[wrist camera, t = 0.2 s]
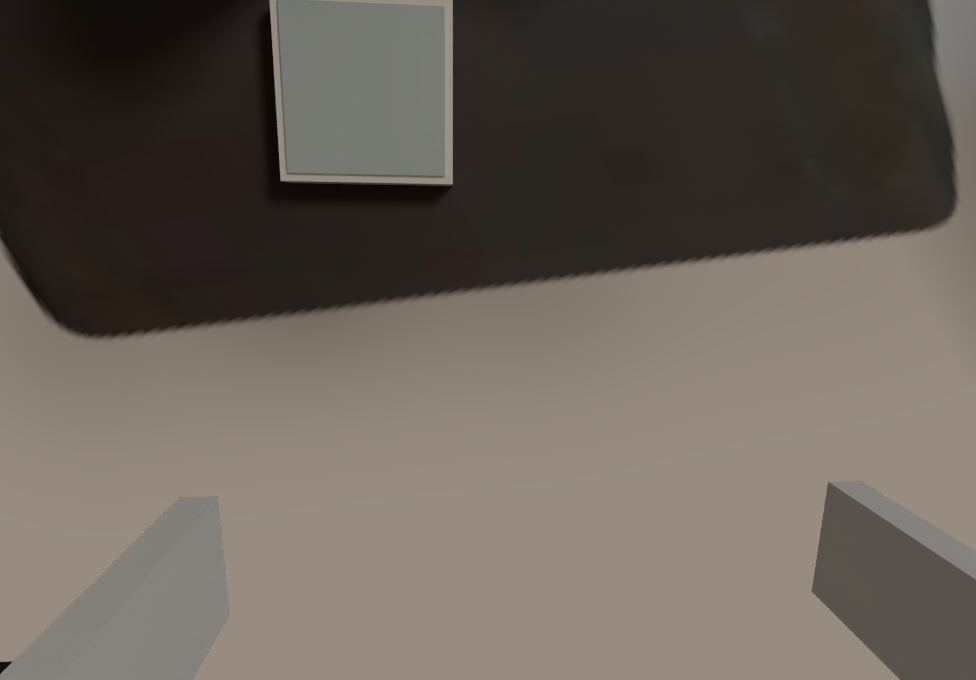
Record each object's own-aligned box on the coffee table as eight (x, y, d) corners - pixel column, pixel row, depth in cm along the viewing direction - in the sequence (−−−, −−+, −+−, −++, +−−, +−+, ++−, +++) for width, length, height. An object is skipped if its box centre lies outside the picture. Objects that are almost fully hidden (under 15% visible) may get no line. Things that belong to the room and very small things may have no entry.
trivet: (276, 0, 33) (268, -11, 32) (452, 8, 34) (452, -3, 33) (287, 182, 36) (279, 180, 34) (452, 186, 36) (452, 184, 35)
